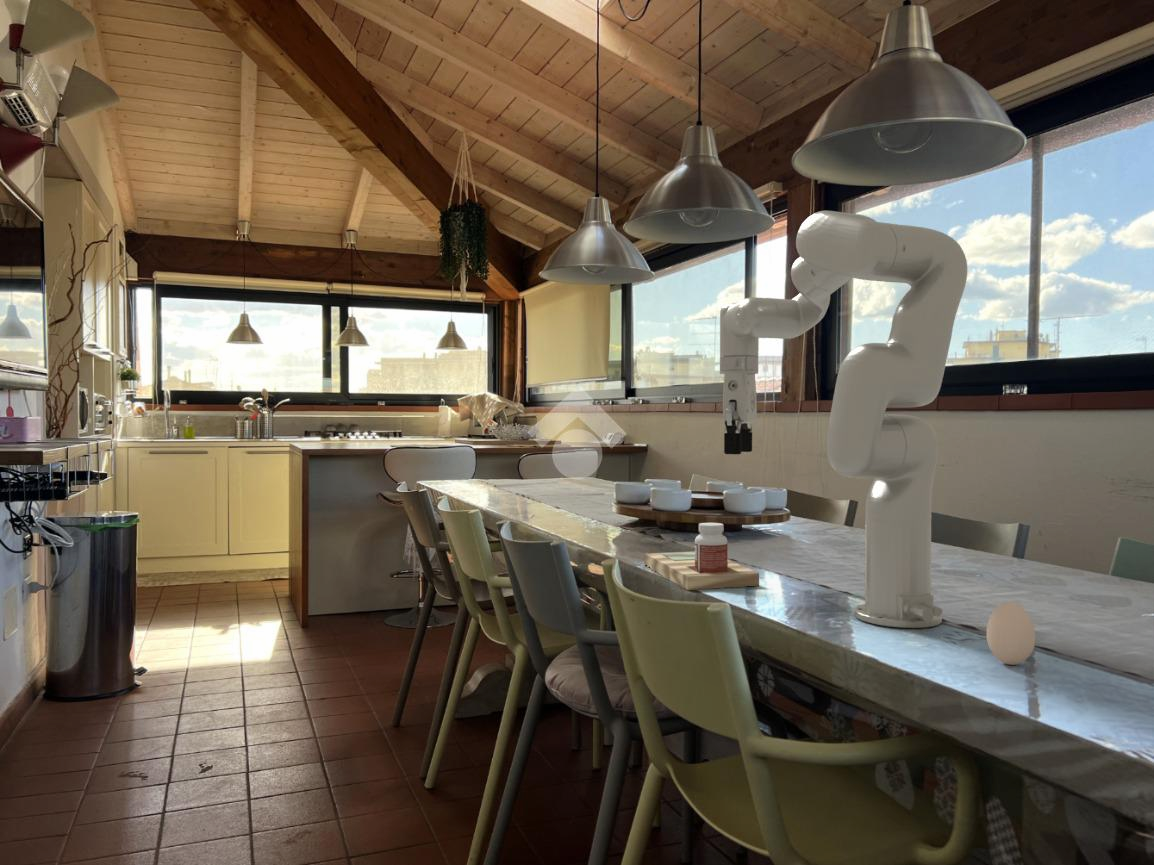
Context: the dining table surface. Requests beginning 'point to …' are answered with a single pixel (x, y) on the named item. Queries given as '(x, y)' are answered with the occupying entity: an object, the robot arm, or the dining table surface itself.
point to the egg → (1010, 633)
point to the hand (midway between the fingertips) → (738, 452)
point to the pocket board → (683, 572)
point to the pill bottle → (711, 549)
